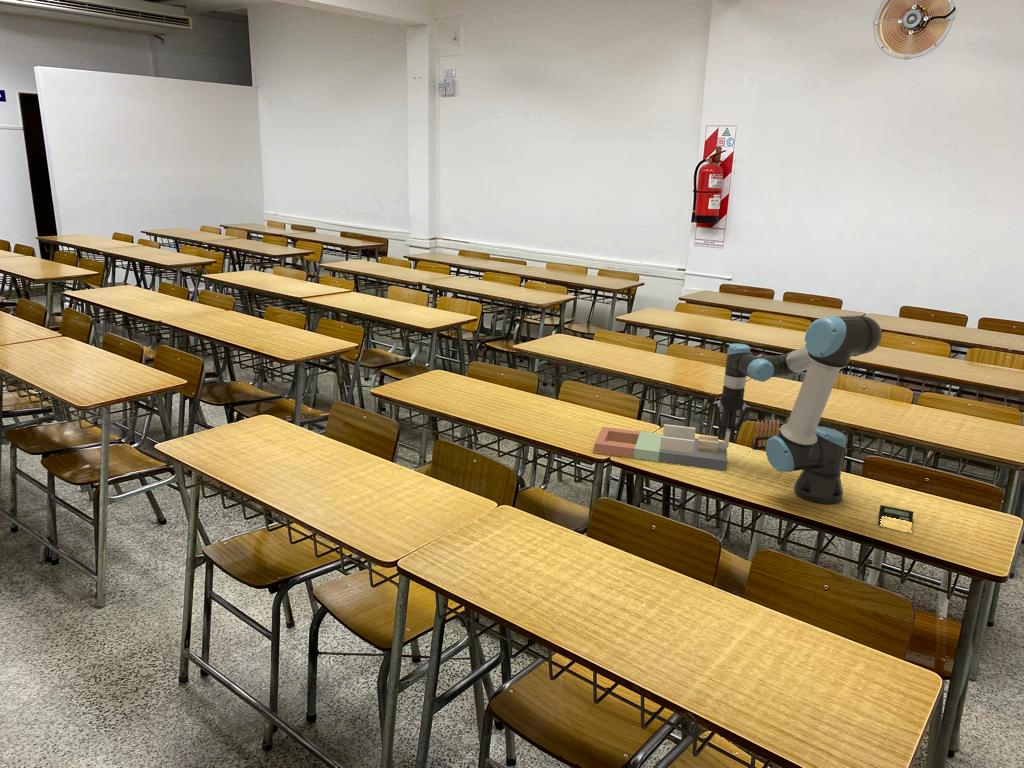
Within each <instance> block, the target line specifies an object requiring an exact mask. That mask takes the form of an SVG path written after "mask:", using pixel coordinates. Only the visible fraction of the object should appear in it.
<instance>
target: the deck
mask: <svg viewBox="0 0 1024 768" xmlns="http://www.w3.org/2000/svg"><path fill="white" fill-rule="evenodd" d="M696 429H697V427H690V426H683V425H674V424H663V430H662V431H663V432H662V433H658V432H657V433H656V432H655V433H654V432H648V431H641V430H640V431H639V430H633V429H632V430H631V429H623V428H616V427H610V426H609V427H608V426H602V428H601V430H600V432H599V434H598V436H597V438H596V440H595V441H594V449H593V453H594V452H599V453H603V454H609V455H608V456H610V455H613V456H612V457H618V456H622V457H621V458H625V457H629V458H628V459H632V458H635V459H634V460H640V459H644V460H643V461H647V460H650V461H649V462H655V461H658V462H657V463H662V462H667V463H666V464H669V463H673V464H672V465H677V464H680V465H679V466H684V465H685V467H691V466H693V467H692V468H701V469H706V468H707V469H708V470H714V471H715V470H716V471H722V472H726V471H727V462H728V461H727V460H728V459H727V455H728V453H727V452H728V451H727V449H728V448H724V441H720V440H718V448H717V453H711V452H704V451H697V450H698V440H699V438H696ZM610 440H612V441H610ZM618 441H620V442H618ZM625 442H628V443H625ZM633 443H635V444H633ZM603 454H602V455H603Z"/></svg>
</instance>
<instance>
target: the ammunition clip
mask: <svg viewBox="0 0 1024 768" xmlns="http://www.w3.org/2000/svg"><path fill="white" fill-rule="evenodd" d="M779 430H780V419H779V418H778V419H777V420H776V419H775V418H774V419H773V420H772V419H770V420H769V421H768V419H765V421H764V419H761V421H760V420H759V419H758V420H757V421H756V424H755V429H754V433H753V435H752V439H751V440H752V441H751V449H752V450H753V451H755V450H756V451H757V450H766V443H767V441H768V439H769V438H771V437H773V436H777V435H778V433H779Z"/></svg>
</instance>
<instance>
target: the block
mask: <svg viewBox="0 0 1024 768" xmlns="http://www.w3.org/2000/svg"><path fill="white" fill-rule="evenodd" d="M698 439H699V440H698V450H697V451H704V452H711V453H717V448H718V441H719V437H718V436H715V435H714V436H713V435H709V434H706V435H705V434H698Z"/></svg>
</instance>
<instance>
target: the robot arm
mask: <svg viewBox="0 0 1024 768" xmlns="http://www.w3.org/2000/svg"><path fill="white" fill-rule="evenodd" d="M882 336H883V334H882V329H881V326H880V325H879V324H878V322H877V321H876V320H875V319H873V318H871V317H869V316H865V315H848V316H847V315H845V316H843V315H842V316H836V315H828V316H825V317H820V318H817V319H815V320H814V321H813V322H812V323H810V325H809V326H808V328H807V330H806V332H805V336H804V342H805V344H804V346H803V347H800V348H797V349H795V350H793V351H790V352H788V353H786V354H781V355H768V356H767V355H766V356H756V355H753V354H751V347H750V346H749V345H748V344H744V343H731V344H729V345H728V349H727V353H726V360H725V361H726V362H725V370H724V378H723V386H722V393H721V397H720V398H719V400H717V401H714V402H713V407H714V409H715V413H716V419H717V427H718V429H721V430H722V432H721V438H722V439H724V441H723V442H724V448H727V449H729V443H730V440H733V437H734V432H736V431H740V428H741V426H742V423H743V421H744V419H745V417H746V414H747V413H748V412H749V411H750V406H749V405H747V404H746V403H745V400H744V395H745V389H746V388H745V387H746V382H747V377H749V378H751V379H752V380H754V381H757V382H762V383H764V382H767V381H768V380H769V379H771V378H779V377H780V378H781V377H784V378H785V377H790V378H791V377H795V376H799V375H801V374H802V373H803V371H806V372H805V375H804V378H803V380H802V383H801V385H800V388H799V390H798V393H797V396H796V399H795V402H794V404H793V407H792V411H791V413H790V415H789V418H788V421H787V422H786V423H784V424H782V425H781V426H780V427H779V433H778V435H777V436H773V437H771V438H769V439H768V441H767V443H766V449H765V454H766V457H767V460H768V463H769V464H770V465H771V467H772V468H773V469H774V470H776V471H778V472H781V473H786V472H787V473H791V472H795V471H800V474H799V476H798V477H797V479H796V481H795V483H794V488H793V492H794V494H796V495H797V496H798V497H800V498H802V499H804V500H806V501H809V502H812V503H817V504H822V505H823V504H825V505H833V504H838V502H839V503H840V502H842V500H843V496H844V490H843V486H842V485H843V484H842V479H841V474H842V469H843V462H844V458H845V453H846V448H847V446H846V444H847V436H846V435H845V434H844V433H843V432H841V431H838V430H836V429H833V428H829V427H826V426H820V425H819V423H820V421H821V418H822V416H823V413H824V411H825V408H826V405H827V403H828V400H829V398H830V395H831V393H832V390H833V387H834V385H835V383H836V380H837V378H838V375H839V372H840V370H841V369H844V368H847V367H848V365H849V362H850V359H851V357H858V356H862V355H866V354H868V353H871V352H873V351H875V350H877V348H878V346H879V345H880V344H881V342H882ZM721 406H722V408H724V410H725V411H724V417H723V418H724V420H723V424H722V416H721V409H720V407H721ZM741 408H742V411H741V413H740V414H739V415H740V416H739V417H738V420H737V421H736V415H737V411H739V410H740V409H741ZM730 411H731V412H732V413H731V421H730V428H729V429H728V421H729V420H728V419H729V413H730Z"/></svg>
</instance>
